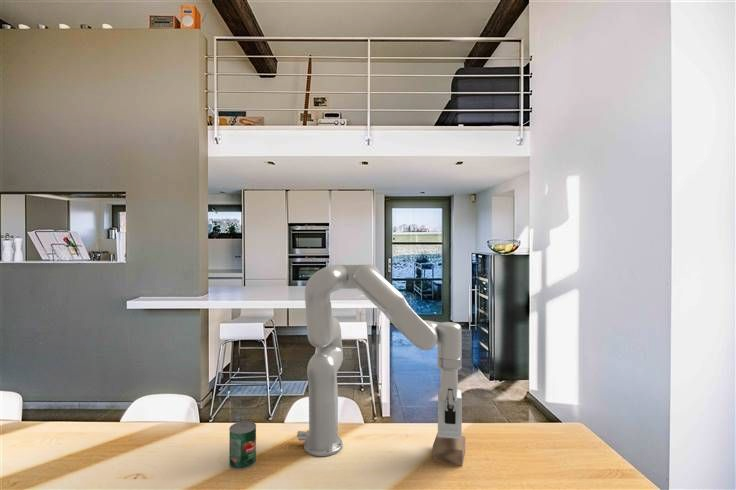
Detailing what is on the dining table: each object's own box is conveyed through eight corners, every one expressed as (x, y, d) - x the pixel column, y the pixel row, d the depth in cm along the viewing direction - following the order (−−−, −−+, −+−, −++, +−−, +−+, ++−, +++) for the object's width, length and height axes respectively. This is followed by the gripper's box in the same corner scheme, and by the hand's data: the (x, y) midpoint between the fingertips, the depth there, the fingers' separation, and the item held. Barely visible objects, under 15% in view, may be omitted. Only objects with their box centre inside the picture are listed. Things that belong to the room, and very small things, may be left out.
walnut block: (432, 461, 122) (432, 445, 122) (437, 447, 131) (437, 432, 131) (462, 466, 119) (462, 450, 119) (465, 452, 128) (465, 436, 128)
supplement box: (461, 439, 121) (461, 398, 121) (437, 437, 122) (437, 396, 122) (461, 428, 128) (461, 389, 128) (438, 426, 129) (438, 387, 129)
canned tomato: (254, 468, 118) (254, 431, 118) (227, 471, 117) (227, 433, 117) (257, 454, 126) (257, 420, 126) (231, 456, 125) (231, 421, 125)
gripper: (437, 354, 134) (437, 405, 134) (437, 370, 117) (438, 429, 117) (459, 354, 133) (459, 407, 133) (463, 371, 116) (463, 431, 116)
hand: (449, 417), depth 125 cm, fingers closed on supplement box, 7 cm apart
